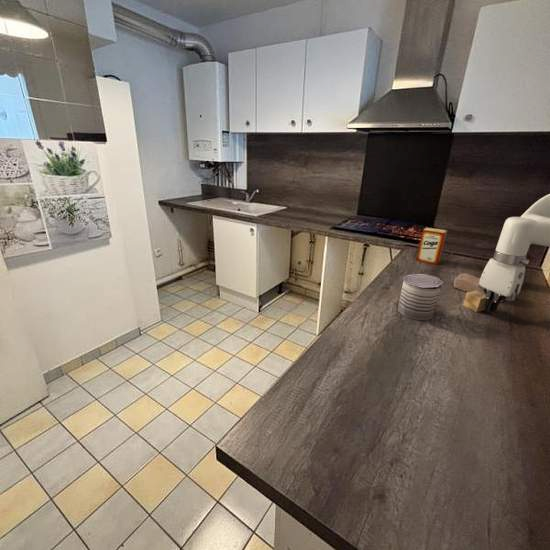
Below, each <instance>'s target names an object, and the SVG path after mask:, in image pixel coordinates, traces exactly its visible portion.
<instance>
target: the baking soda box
mask: <svg viewBox="0 0 550 550" xmlns="http://www.w3.org/2000/svg"><path fill="white" fill-rule="evenodd" d="M447 233H448V230H446V229H440V228H432V227H425V228H423V229H422V232H421V235H420V239H419V245H418V249H417V254H416V259H415V260H417V261H416V262H421V261H422V263H426V262H427V264H430V263H431V264H430V265H435V264H436V266H437V265H438V264H439V263H440V261H441V258H442V255H443V250H444V245H445V241H446V237H447Z"/></svg>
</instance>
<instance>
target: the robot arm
mask: <svg viewBox="0 0 550 550" xmlns="http://www.w3.org/2000/svg"><path fill="white" fill-rule="evenodd" d="M531 245H537V246H542V247H550V193H549V194H546V195H545V196H543V197H541V198H539V199H538V200H537V201H535V202H534V203H533V204H532V205H531V206H530V207H529V208H528V209H526V210H525V212H523V214H522V215H520V216H510V217H507V218H506V219H505V221H504V223H503V227H502V230H501V232H500V235H499V238H498V241H497V245H496V248H495V249H494V253H493V255H492V257H491V258H490V259H489V260H488V261H487V263H486V264H485V266H484V269H483V271H482V273H481V275H480V277H479V278H480V282H479V284H480V285H479V286H478V287H479V288H480V289H481V290H483V291H484V293H485V295H486V298H487V300H486V303H485V308H484V310H483V311H486V312H487V313H492V312H495V311H497V309H498V307H499V304H500V303H501V302H500V301H502V300H503V301H507V302H514V301H516V296H518V295H519V294H520V293H521V289H522V286H523V282H524V279H525V274H526V266H525V265H528V264H529V263H530V260H529V259H527V254H528V252H529V249H530V246H531ZM495 293H496V295H495ZM503 301H502V302H503Z"/></svg>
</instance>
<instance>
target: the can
mask: <svg viewBox="0 0 550 550" xmlns="http://www.w3.org/2000/svg"><path fill="white" fill-rule="evenodd" d="M401 279H402V280H403V281H402V286H401V291H400V296H399V301H398V306H397V311H398V312H399V313H400V314H401V315H402V316H404V317H407V318H409V319H412V320H415V321H416V320H417V321H428V320H431V319H433V318H434V315H435V311H436V308H437V305H438V304H437V303H438V300H439V297H440V293H441V289H442V285H443V284H444V283H445V282H444V281H442V279H440V278H439V277H437V276H433V275H428V274H423V273H420V274H419V273H417V274H415V273H413V274H407V275H406V276H404V277H402V278H401Z"/></svg>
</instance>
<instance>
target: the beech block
mask: <svg viewBox="0 0 550 550" xmlns="http://www.w3.org/2000/svg"><path fill="white" fill-rule="evenodd" d="M486 300H487V298H486V295H485V294H483V293H481V292H478V291H473V292H466V294H465V297H464V300H463V304H462V306H463V307H465V308H467V309H469V310H471V311H472V312H473V311H474V312H475V313H479V312H482V311H485V310H484V308H485V303H486Z"/></svg>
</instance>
